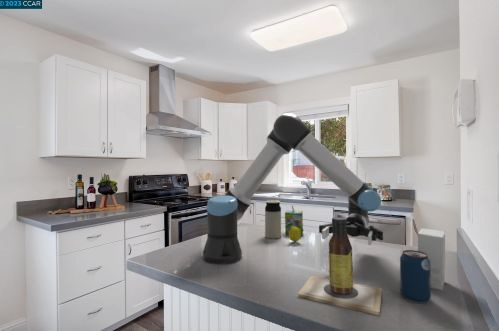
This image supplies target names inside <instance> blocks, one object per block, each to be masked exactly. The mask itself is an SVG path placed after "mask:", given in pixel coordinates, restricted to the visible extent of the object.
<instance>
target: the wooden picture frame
mask: <svg viewBox="0 0 499 331" xmlns="http://www.w3.org/2000/svg"><path fill="white" fill-rule="evenodd" d="M382 294H383V288H380V287H375V286H369V285H364V284H358V283H354V282H353V290H352V293H350V294H337V293H335V292H333V291H332V290H331V289H330V283H329V278H327V277H323V276H316V275H310V277H309V279H308V280H307V281H306V283H304V285H303V286H302V287H301V289H300V290H299V292H297V297H298V298H302V299H307V300H309V301H315V302H320V303H323V304H329V305H332V306H336V307H342V308H346V309H351V310H353V311H354V310H355V311H357V312H362V313H365V314H371V315H375V316H380V315H381V314H380V311H381V303H382Z"/></svg>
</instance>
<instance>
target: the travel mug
mask: <svg viewBox="0 0 499 331" xmlns="http://www.w3.org/2000/svg"><path fill="white" fill-rule="evenodd" d="M265 203H266V204H265V207H264V209H265V210H264V236H265V238H268V239H270V238H272V239H273V238H274V239H275V238H277V239H281V237H282V207H281V206H280V204H281V201H280V200H278V199H277V200H274V199H272V200H271V199H270V200H269V199H268V200H266V201H265ZM274 239H273V240H274ZM275 240H276V239H275Z"/></svg>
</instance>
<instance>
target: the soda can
mask: <svg viewBox="0 0 499 331" xmlns="http://www.w3.org/2000/svg"><path fill="white" fill-rule="evenodd" d="M399 262H400V263H399V264H400V265H399V267H400V268H399V269H400V270H399V272H400V273H399V274H400V275H399V278H400V279H399V281H400V282H399V287H400V288H399V289H400V293H401V295H402V296H403V298H404V299H406V300H407V301H409V302H412V303H416V304H426V303H428V301H429V300H430V299H431V298H432V295H431V294H432V292H431V290H432V288H431V279H430V260H429V259H428V255H427V254H426V253H423V252H420V251H418V250H413V249H405V250H403V251H402V254H401V255H400V257H399Z"/></svg>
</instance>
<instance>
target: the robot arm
mask: <svg viewBox="0 0 499 331" xmlns="http://www.w3.org/2000/svg"><path fill="white" fill-rule="evenodd" d="M292 150H293V151H298V152H299V153H301V154H302V155H303V156H304V157H305V158H306V159H307V160H308V161H309V162H310V163H311V164H313V165H314V167H316V168H317V170H319V171H320V173H322V174H323V175H324V176H325V177H327V178H328V179H329V180H330V181H331V182H332V183H333V184H334V185H335V186H336V187H337V188H339V189H340V191H342V192H343V194H345V195H346V196H347V200H348V202H347V206H348V208H347V209H348V210H347V214H348V216H347V217H345V218H346V219H347V235H348V236H350V237H353V238H356V237H361V236H364V237H366V238H367V244H368V246H371V245H372V243H373V242H375V241H377V240H379V241H384V231H382V230H380V229H378V228H376V227H374V225H369V223H370V217H369V212H375V211H377V210H379V208H380V206H381V204H382V197H381V195H380V194H379V193H378V192H377V191H375V190H373V189H371V188H370V187H369V184H368V183H367V182H364V181H363V180H362V179H361V178H360V177H358V176H357V175H356V174H355V173H354V171H352V170H351V169H350V168H348V166H346V165H345V164H344V163H343V162H342V161H341V160H340V159H339V158H338V157H337V156H335V155H334V154H333V152H331V151H330V150H329V149H328V148H327V147H326V146H325V145H324V144H322V143H321V142H320V141H319V140H318V139H317V138H316V137H315V136H314V135H313V131H312V130H311V128H309V127H308V126H307V125H306V124H305V123H304V121H302V119H301V118H300V117H298V116H297V115H296V114H293V113H284V114H281V115H280V116H278V117H277V118H276V119H275V121H274V123H273V127H272V130H271V131H270V133H269V134H268V135H267V137H266V144H265V145H264V146H263V148H262V149H261V151H260V152H259V153H258V154H257V156H256V157H255V159H254V160H253V161H252V163H251V164H250V165H249V167H248V168H247V169H246V170H245V172H244V174H243V175H242V176H241V178H240V179H239V181H238V182H237V183H236V184H235V186H233V187H229V188H228V189H227V191H226V193H225V194H224V195H217V196H213V197H211V198H208V200H207V206H206V212H207V213H206V215H207V216H206V219H207V220H206V223H207V224H206V229H207V232H206V233H207V238H206V241H205V245H204V248H203V251H202V260H203V261H204V262H207V263H210V264H213V265H226V264H232V263H235V262H239V261H240V260H242V258H243V251H242V247H241V245H240V242H239V238H238V222H239V220H241V219H242V218H243V217H244V215H245V212H246V211H247V210H248V209H249V207H250V206H251V205H252V204H251V203H252V202H251V198H252V197H253V196H254V195H255V193H256V192H257V191H258V190H259V188H260V187H261V185H262V184H263V182H264V181H265V180H266V178H268V176H269V175H270V173H271V172H272V171H273V169H274V168H275V166H276V165H277V164H278V163H279V161H280V159H281V158H282V157H283V156H284V155H289V153H291V151H292ZM367 226H368V227H367ZM318 234H321V239H322V240H325V239H326V238H328V236H330V234H333V224H332V222H330V223H324V224H320V225H318Z"/></svg>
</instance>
